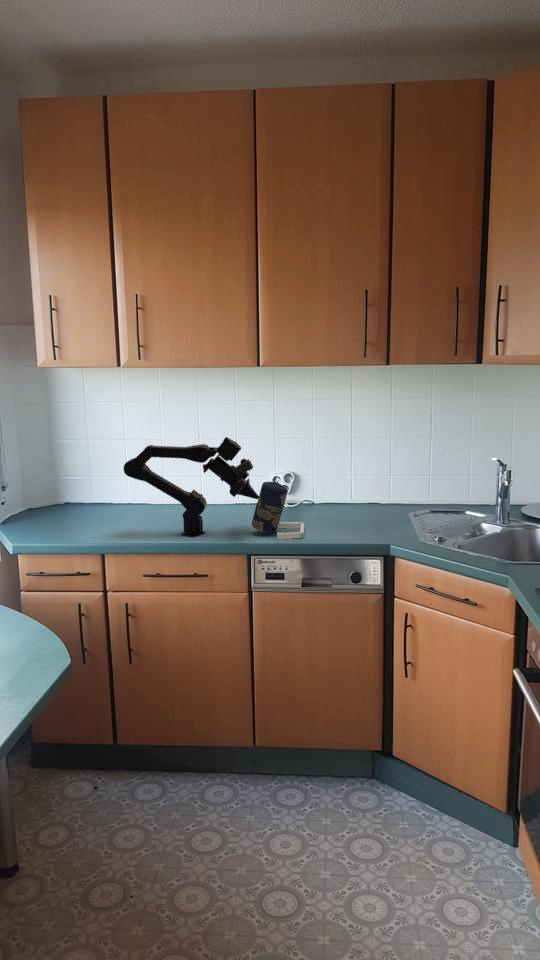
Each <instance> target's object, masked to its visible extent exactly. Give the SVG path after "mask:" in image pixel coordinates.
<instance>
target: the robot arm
mask: <svg viewBox="0 0 540 960" xmlns="http://www.w3.org/2000/svg"><path fill="white" fill-rule="evenodd" d="M241 450H242V446H241V445H240V444H239V443H238V442H236V441H234V440H233V439H231V438H229V437H227V436H225V437H224V438H223V440H222V442H221V443H220V445H219V446H218V447H215V446H209V445H207V444H204V443H202V444H196V445H194V444H193V445H189V446H169V445H168V446H167V445H153V444H149V445H147V446H145V447H144V449H143V450H142V451H141V452H140V453H139V454H138V455H137V456H136V457H133V458H131V459H129V460H128V461H126V462H125V463H124V464H123V473H124V474H125V476H127V477H129V478H131V479H134V480H137V481H142V482H145V483H147V484H148V485H151V486H152V487H154V488H155V489H157V490H159V491H160V492H162V493H163V494H166V495H167V496H168V497H169V496H170V497H171V498H172V499H174V500H176V501H177V502H179V503H180V504H181V505H182V506H183V507H184V509H185V511H183V513H182V514H181V515H182V519H183V520H182V521H183V532H180V534H181V535H183V536H186V537H187V536H188V537H192V538H193V537H197V536H200V535H204V534H206V533H207V532H206V530H205V531H204V525H203V524H204V523H203V521H204V520H203V516H202V513H203V512H204V511H205V510H206V507H207V505H208V502H207V500H206V498H205V497H204V494H201V493H199V492H197V490H195V489H192V490H191V491H187V490H184V489H183V488H181V487H180V486H178V485H176V484H174V483H172V482H171V481H169V480H168V479H166V478H165V477H163V476H162V475H160V474H157V473H156V472H155V471H152V470H151V468H150V467H149V466H148V465H147V463H148V461H149V460H150V459H152V458H160V459H161V458H165V459H182V460H184V459H185V460H188V461H191V462H195V463H199V464H202V469H203V474H206V473H207V472H208V470H209V471H211V472H212V473H213V474H214V475H216V476H217V477H218V478H220V481H221V482H224V483H226V484H227V485H228V486H229V494H230V495H231V496H232V497H233V498H235V497H236V496H237V495H238V496H243V497H246V498H250V499H254V500H258V498H259V494H258V493H257V492H256V491H255V489H254V488H253V486H252V485H251V483H250V473H249V471H251V470H252V469H254V466H253V464H252V461H251V459H248V458H247V459H246V458H244V457H243V458H242V459H240V463H239V464H238V465H236V466H235V465H233V464H229V463H228V461H233V459H234V458H235V457H236V456H237V455H238V453H239V452H241ZM217 453H218V454H217ZM216 454H217V456H216ZM215 456H216V457H215ZM213 457H215V458H213ZM207 461H208V462H207ZM206 462H207V463H206ZM204 463H205V464H204Z"/></svg>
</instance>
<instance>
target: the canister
mask: <svg viewBox="0 0 540 960" xmlns="http://www.w3.org/2000/svg"><path fill="white" fill-rule="evenodd" d="M288 490H289V489H288V488H287V487H286V486H285V485H282V484H281V483H279V482H277V481H264V482H262V484H261V487H260V492H259V494H258V496H259V498H258V499H257V502H256V505H255V509H254V513H253V517H252V521H251V526H252V527H253V529H255V530H257V531H259V532H263V533H267V534H274V533H276V532H277V530H278V529H279V522H280V521H281V517H282V513H283V510H284V507H285V504H286V500H287V496H288V492H289V491H288Z"/></svg>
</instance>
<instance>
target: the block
mask: <svg viewBox="0 0 540 960" xmlns="http://www.w3.org/2000/svg"><path fill="white" fill-rule="evenodd" d="M279 528H287V529H300V530H299V531H300V532H299V531H297V532H290V531H289V532H277V533H276V538H277V539H276V540H293V539H292V538H304V539H305V521H303V522H301V521H299V522H298V521H294V522H292V521H291V522H290V521H289V522H288V521H287V522H286V521H285V522H280V521H279V525H278V529H279Z"/></svg>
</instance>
